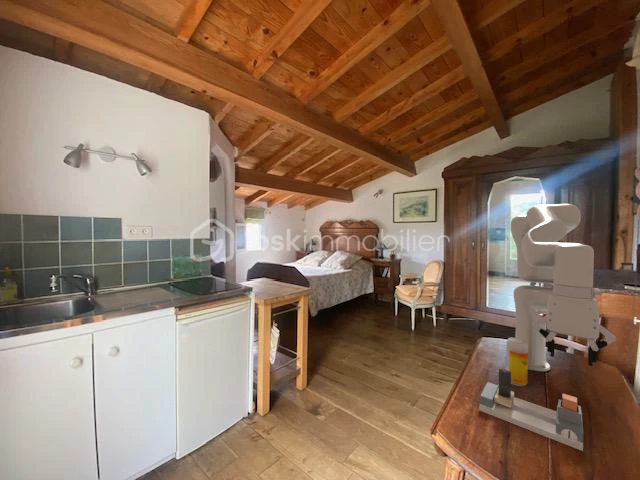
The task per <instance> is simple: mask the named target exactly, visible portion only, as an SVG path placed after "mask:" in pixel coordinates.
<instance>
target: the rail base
mask: <svg viewBox="0 0 640 480" xmlns="http://www.w3.org/2000/svg"><path fill="white" fill-rule="evenodd" d="M498 388H499V384H495V383H493V382H489V381H487V383H486V384H485V386H484V388H483V389H482V391H481V394H480V395H479V396H480V399H479V401H480V402H479V405H478V406H479V407H478V408H479V409H478V411H480V412H483V413H485V414H488V415H490V416H493V417H495V418H498V419H500V420H503V421H506V422H508V423H509V424H510V423H511V424H513V425H515V426H518V427H520V428H524V429H525V430H529V431H531V432H533V433H536V434H538V435H541V436H543V437H546V438H548V439H551V440H553V441H556V442H558V443H561V444H563V445H566V446H569V447H572V448H573V449H577V450H579V451H581V452H584V426H583V425H584V424H583V412H582V406H581V405H578V404H577V412H575V411H572V410H569V409H566V408H563V407H562V399H558V402H557V405H556V410H554V409H551V408H548V407H544V406H542V405H538V404H535V403H533V402H530V401H527V400H524V399H521V398H519V397H515V396H514V400H513V403H512V408H510V407H507V406H504V405H501V404H499V403H496V402H494V397H495V394H496V392H497V390H498Z"/></svg>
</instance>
